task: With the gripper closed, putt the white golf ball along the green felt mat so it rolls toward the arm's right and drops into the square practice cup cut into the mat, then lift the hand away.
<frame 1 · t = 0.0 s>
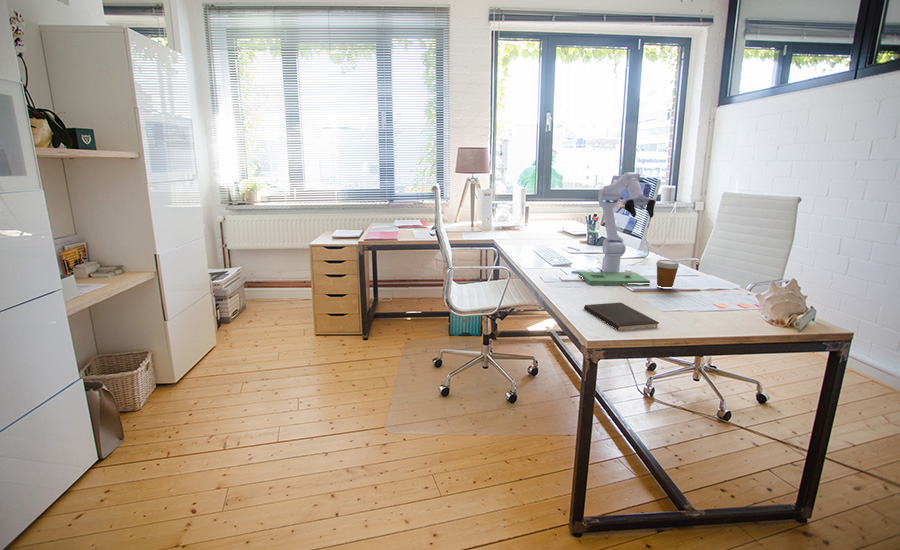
hand: (643, 216, 205), 32 cm above the table, tool tilted 50°, fingers open, 7 cm apart
putting mat: (613, 280, 225), on the table
hardcover book: (619, 319, 174), on the table
disposable coffee cup: (664, 288, 215), on the table
ball: (628, 272, 225), point 4 cm above the table, touching putting mat
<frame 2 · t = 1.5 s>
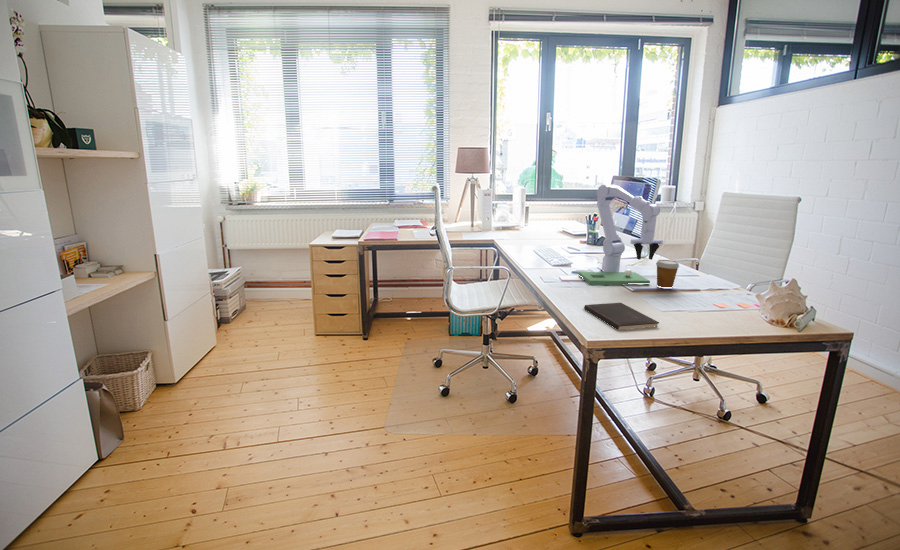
hand: (644, 259, 223), 10 cm above the table, tool pointing down, fingers open, 5 cm apart
nothing on the table moved.
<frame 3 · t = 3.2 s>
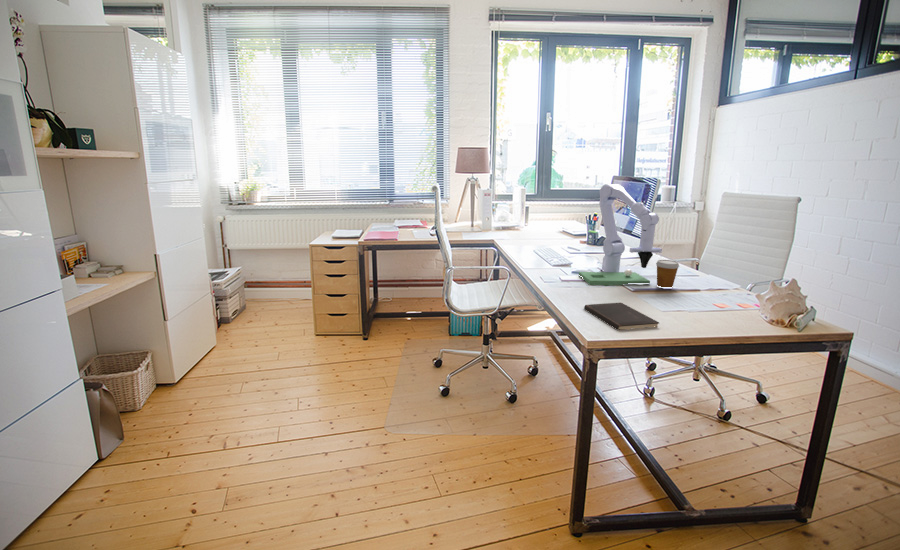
hand: (643, 267, 224), 6 cm above the table, tool pointing down, fingers closed
nothing on the table moved.
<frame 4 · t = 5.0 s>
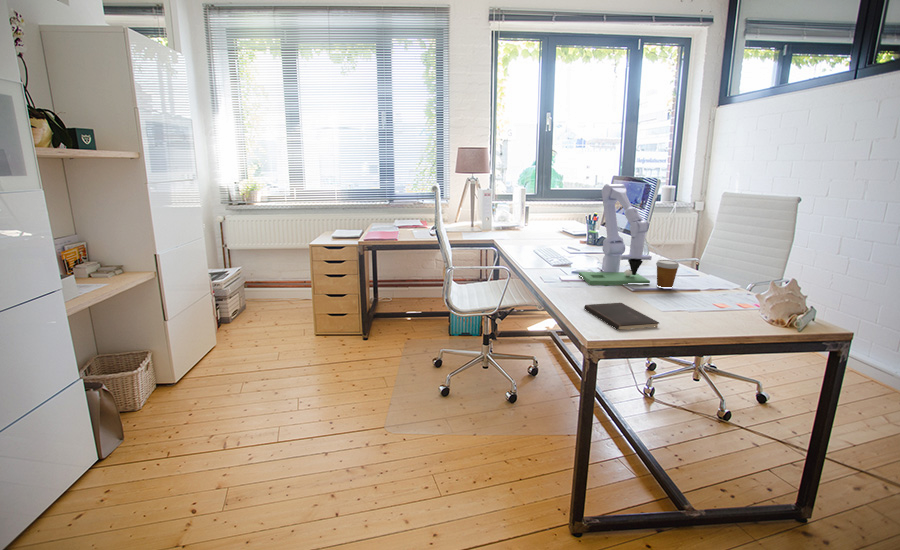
hand: (633, 274, 225), 3 cm above the table, tool pointing down, fingers closed, pressing on ball
ball: (628, 272, 225), point 4 cm above the table, touching gripper, putting mat
everything else where it was.
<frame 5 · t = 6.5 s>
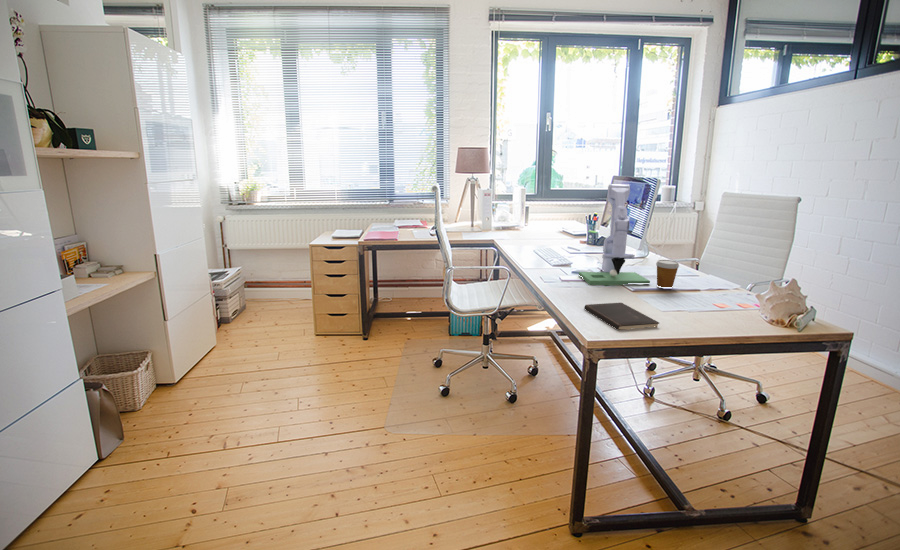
hand: (616, 273, 224), 3 cm above the table, tool pointing down, fingers closed, pressing on ball
ball: (613, 273, 224), point 4 cm above the table, tilted 117°, touching gripper, putting mat
everything else where it was.
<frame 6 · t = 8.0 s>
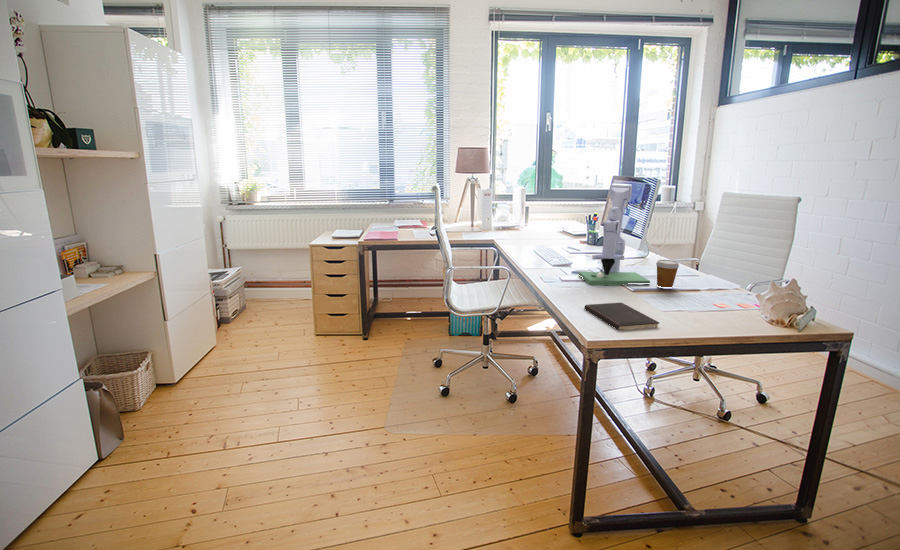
hand: (606, 274, 224), 3 cm above the table, tool pointing down, fingers closed
ball: (600, 276, 224), point 2 cm above the table, tilted 60°, touching putting mat
everything else where it was.
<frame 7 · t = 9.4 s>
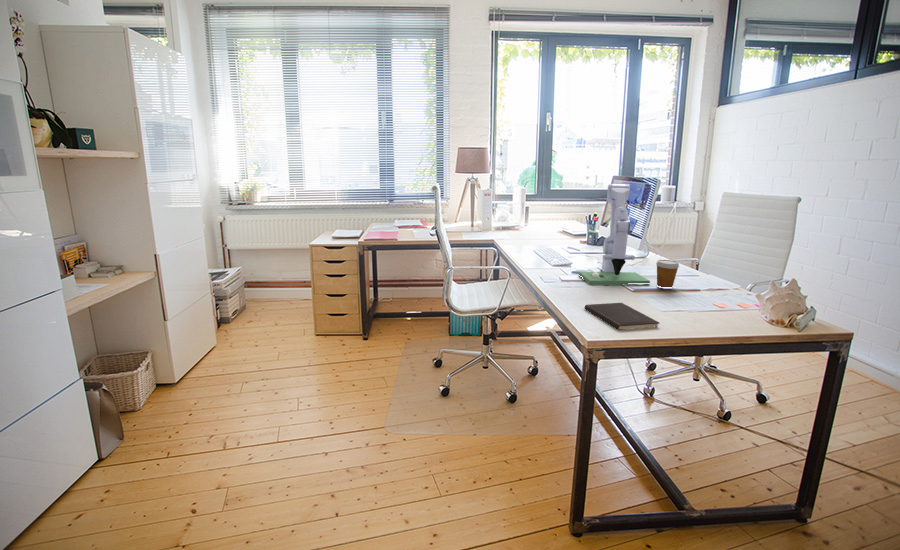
hand: (616, 274, 225), 3 cm above the table, tool pointing down, fingers closed
ball: (595, 276, 224), point 2 cm above the table, tilted 130°, touching putting mat
everything else where it was.
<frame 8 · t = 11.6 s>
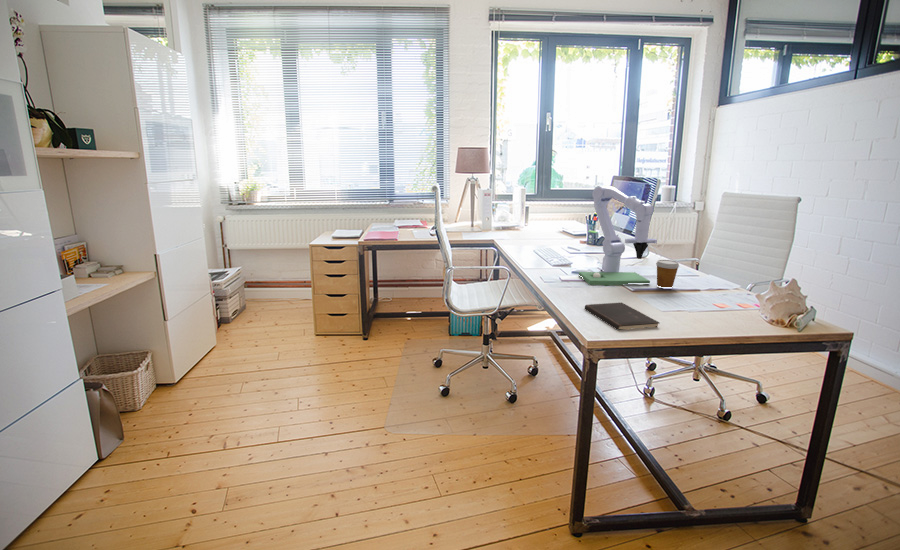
hand: (639, 258, 225), 10 cm above the table, tool pointing down, fingers closed
ball: (596, 276, 224), point 2 cm above the table, tilted 111°, touching putting mat
everything else where it was.
at the end: ball 0.5 cm from the target spot on the putting mat, point 2.0 cm above the putting mat's base; ball moved 15.1 cm from its start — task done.
